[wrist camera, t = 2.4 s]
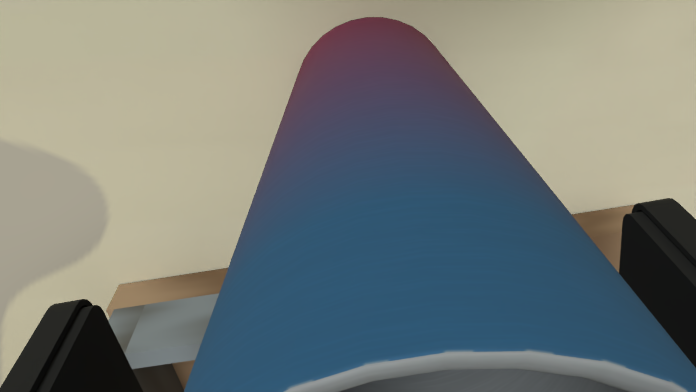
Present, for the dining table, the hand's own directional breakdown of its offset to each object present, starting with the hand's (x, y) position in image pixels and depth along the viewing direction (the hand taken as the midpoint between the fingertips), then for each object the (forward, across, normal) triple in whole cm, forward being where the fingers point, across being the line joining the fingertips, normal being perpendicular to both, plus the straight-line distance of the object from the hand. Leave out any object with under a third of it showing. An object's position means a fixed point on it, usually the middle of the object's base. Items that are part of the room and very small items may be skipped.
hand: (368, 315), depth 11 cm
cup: (+10, -1, 0) cm, 11 cm away
